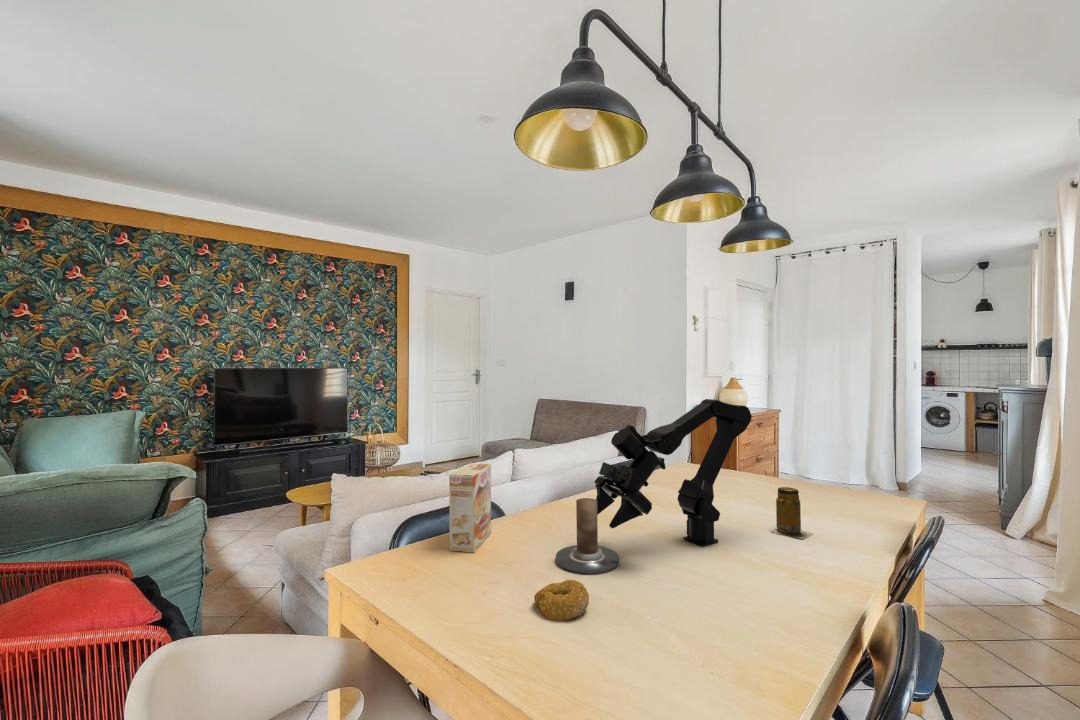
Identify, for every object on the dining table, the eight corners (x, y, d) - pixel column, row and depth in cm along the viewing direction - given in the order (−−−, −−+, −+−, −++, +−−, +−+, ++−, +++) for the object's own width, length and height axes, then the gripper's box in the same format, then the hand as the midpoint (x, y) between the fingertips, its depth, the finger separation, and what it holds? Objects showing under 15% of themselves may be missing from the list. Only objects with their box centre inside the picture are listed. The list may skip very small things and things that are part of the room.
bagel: (553, 591, 101) (553, 568, 101) (599, 607, 95) (598, 583, 95) (522, 611, 94) (522, 586, 94) (570, 630, 87) (569, 603, 87)
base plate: (632, 565, 114) (632, 559, 114) (579, 580, 106) (579, 573, 106) (593, 545, 127) (593, 540, 127) (544, 557, 119) (544, 551, 119)
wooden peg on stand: (606, 553, 118) (606, 499, 118) (594, 563, 112) (593, 506, 112) (580, 548, 121) (580, 495, 122) (567, 557, 115) (566, 502, 116)
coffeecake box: (474, 553, 122) (474, 475, 123) (448, 551, 124) (447, 474, 124) (492, 533, 137) (491, 463, 137) (468, 531, 138) (467, 462, 139)
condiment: (782, 526, 140) (781, 484, 140) (813, 534, 134) (812, 490, 134) (770, 532, 136) (769, 489, 136) (802, 540, 129) (801, 495, 129)
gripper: (600, 445, 129) (563, 491, 125) (640, 457, 112) (598, 511, 107) (626, 471, 132) (590, 518, 128) (669, 487, 115) (629, 541, 110)
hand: (600, 521), depth 118 cm, fingers open, 9 cm apart
